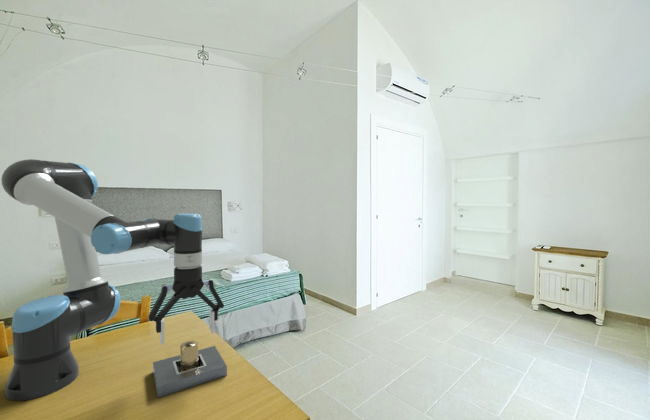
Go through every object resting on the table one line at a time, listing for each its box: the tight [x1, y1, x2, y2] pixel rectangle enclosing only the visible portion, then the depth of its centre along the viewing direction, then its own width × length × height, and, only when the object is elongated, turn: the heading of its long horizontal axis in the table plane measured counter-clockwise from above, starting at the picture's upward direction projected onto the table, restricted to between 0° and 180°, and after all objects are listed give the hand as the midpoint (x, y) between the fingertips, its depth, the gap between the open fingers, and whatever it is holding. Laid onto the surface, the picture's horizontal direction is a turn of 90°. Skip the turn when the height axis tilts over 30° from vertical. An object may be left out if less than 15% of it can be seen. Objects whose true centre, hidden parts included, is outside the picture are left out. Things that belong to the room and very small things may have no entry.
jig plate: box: [152, 345, 228, 399], centre depth 90 cm, size 14×18×3 cm
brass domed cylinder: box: [179, 340, 199, 372], centre depth 90 cm, size 5×5×9 cm
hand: (188, 336), depth 89 cm, fingers open, 13 cm apart
